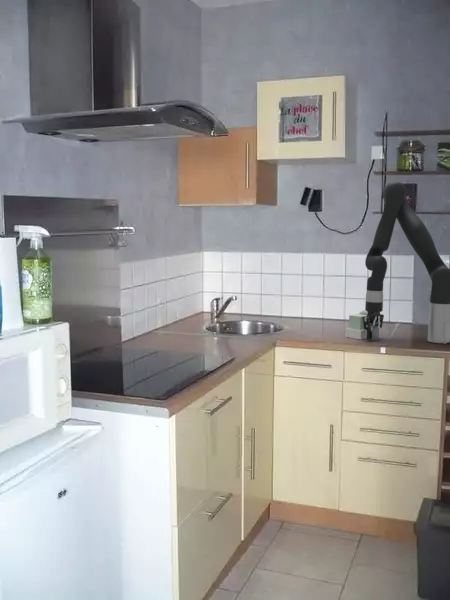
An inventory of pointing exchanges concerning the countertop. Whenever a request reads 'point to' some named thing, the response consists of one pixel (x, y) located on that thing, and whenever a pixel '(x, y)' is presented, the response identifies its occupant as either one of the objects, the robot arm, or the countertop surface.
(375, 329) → the charcoal cylinder
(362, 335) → the ceramic pedestal
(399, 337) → the countertop surface
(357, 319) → the sage cube
